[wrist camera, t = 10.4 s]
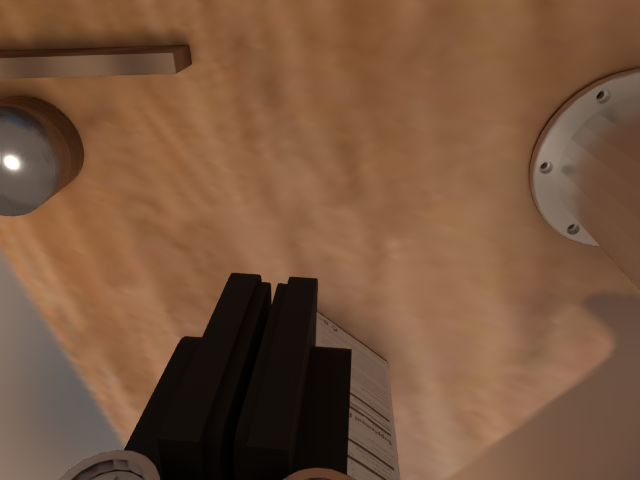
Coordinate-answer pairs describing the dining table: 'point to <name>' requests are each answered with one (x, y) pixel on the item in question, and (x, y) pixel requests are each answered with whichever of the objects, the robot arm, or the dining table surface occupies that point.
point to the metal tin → (35, 153)
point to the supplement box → (365, 408)
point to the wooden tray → (94, 61)
